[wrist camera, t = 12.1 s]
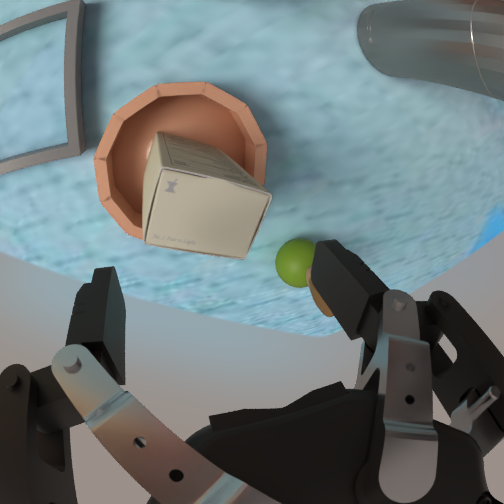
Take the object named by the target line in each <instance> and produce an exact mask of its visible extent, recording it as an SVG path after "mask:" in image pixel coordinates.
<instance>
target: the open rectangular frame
mask: <svg viewBox="0 0 504 504" xmlns="http://www.w3.org/2000/svg"><path fill="white" fill-rule="evenodd" d="M84 13H85V3H84V1H83V0H70V1H66V2H63V3H59V4H56V5H53V6H50V7H46V8H43V9H40V10H38V11H35V12H32V13H29V14H27V15H24V16H21V17H19V18H16V19H14V20H12V21H9V22H7V23H5V24H3V25H0V41H1V40H4V39H6V38H8V37H11V36H13V35H15V34H18V33H21V32H23V31H26V30H29V29H31V28H34V27H37V26H40V25H43V24H46V23H49V22H53V21H56V20H59V19H63V18H67V22H66V34H65V52H64V97H65V115H66V128H67V139H68V143H64V144H59V145H55V146H51V147H47V148H42V149H39V150H35V151H31V152H27V153H24V154H20V155H17V156H13V157H10V158H7V159H3V160H0V175H1V174H4V173H8V172H11V171H15V170H18V169H22V168H26V167H29V166H33V165H37V164H42V163H46V162H50V161H55V160H59V159H64V158H69V157H74V156H79V155H81V154H82V153H83V152H84V151H85V150H86V149H85V139H84V128H83V113H82V88H81V61H82V37H83V23H84Z"/></svg>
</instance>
